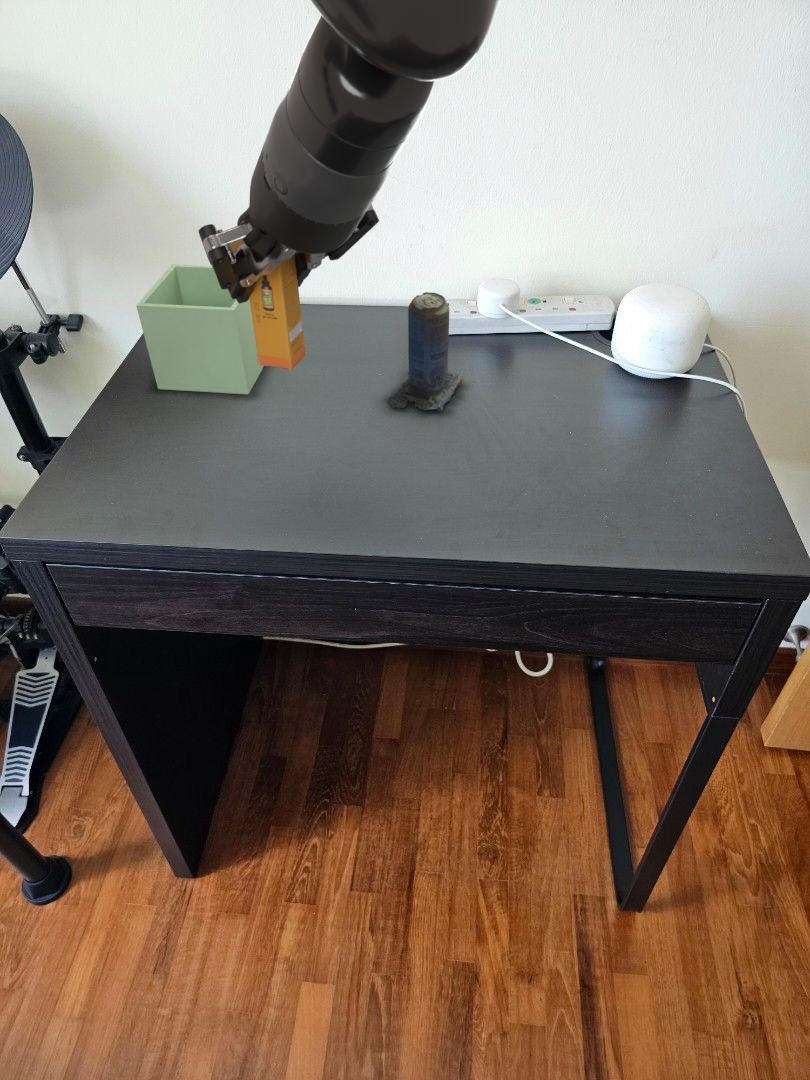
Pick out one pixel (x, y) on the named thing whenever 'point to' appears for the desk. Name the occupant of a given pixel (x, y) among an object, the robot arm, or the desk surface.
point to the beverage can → (427, 356)
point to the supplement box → (278, 317)
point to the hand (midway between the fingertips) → (263, 284)
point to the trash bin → (198, 333)
